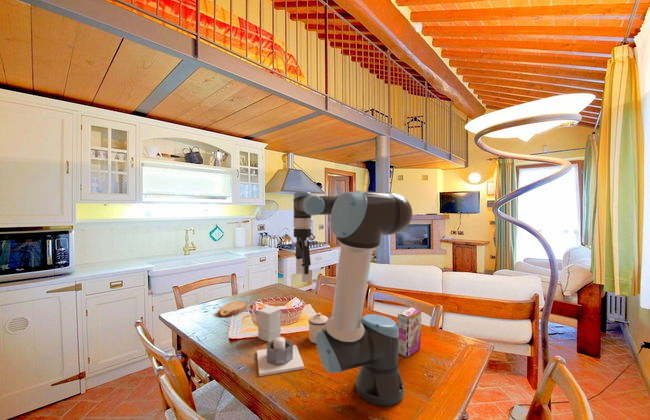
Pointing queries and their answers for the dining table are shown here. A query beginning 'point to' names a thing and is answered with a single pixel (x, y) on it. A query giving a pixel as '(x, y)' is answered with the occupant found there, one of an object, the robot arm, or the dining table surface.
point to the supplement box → (269, 323)
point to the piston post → (272, 369)
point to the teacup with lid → (316, 325)
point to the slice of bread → (232, 309)
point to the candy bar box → (409, 331)
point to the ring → (279, 353)
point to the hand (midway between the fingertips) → (302, 277)
